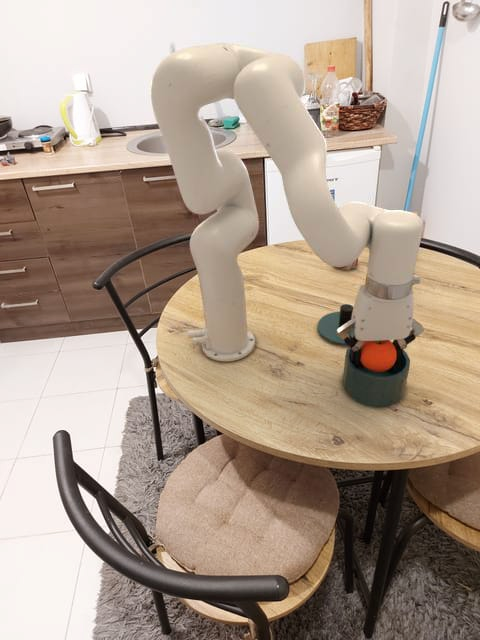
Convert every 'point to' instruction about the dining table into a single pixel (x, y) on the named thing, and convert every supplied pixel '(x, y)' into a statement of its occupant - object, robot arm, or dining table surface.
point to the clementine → (378, 355)
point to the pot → (375, 382)
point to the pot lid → (335, 324)
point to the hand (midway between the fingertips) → (374, 360)
